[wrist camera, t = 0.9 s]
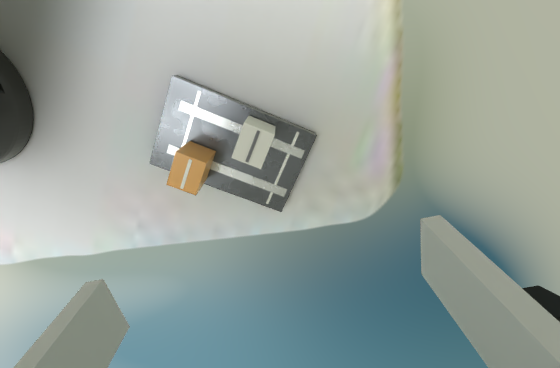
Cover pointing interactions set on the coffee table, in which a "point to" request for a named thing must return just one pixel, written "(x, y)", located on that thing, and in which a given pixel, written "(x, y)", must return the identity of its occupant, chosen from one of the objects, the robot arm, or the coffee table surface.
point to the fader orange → (190, 167)
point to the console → (230, 142)
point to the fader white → (254, 142)
